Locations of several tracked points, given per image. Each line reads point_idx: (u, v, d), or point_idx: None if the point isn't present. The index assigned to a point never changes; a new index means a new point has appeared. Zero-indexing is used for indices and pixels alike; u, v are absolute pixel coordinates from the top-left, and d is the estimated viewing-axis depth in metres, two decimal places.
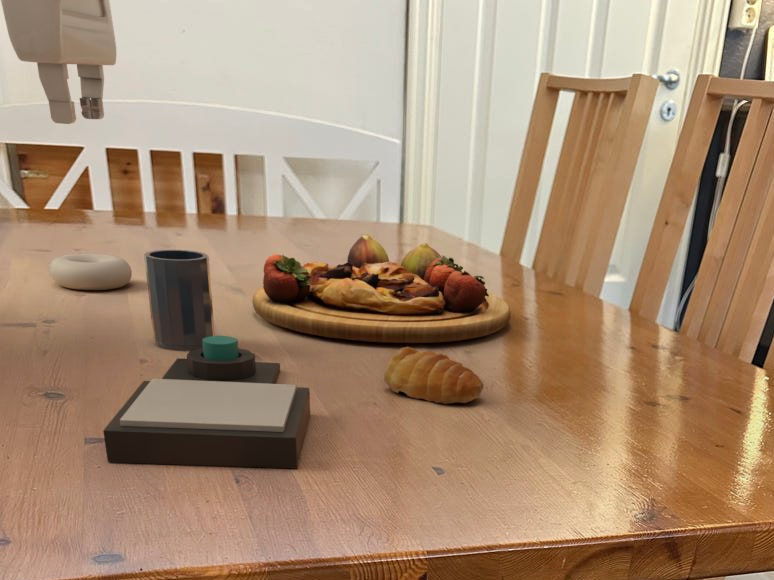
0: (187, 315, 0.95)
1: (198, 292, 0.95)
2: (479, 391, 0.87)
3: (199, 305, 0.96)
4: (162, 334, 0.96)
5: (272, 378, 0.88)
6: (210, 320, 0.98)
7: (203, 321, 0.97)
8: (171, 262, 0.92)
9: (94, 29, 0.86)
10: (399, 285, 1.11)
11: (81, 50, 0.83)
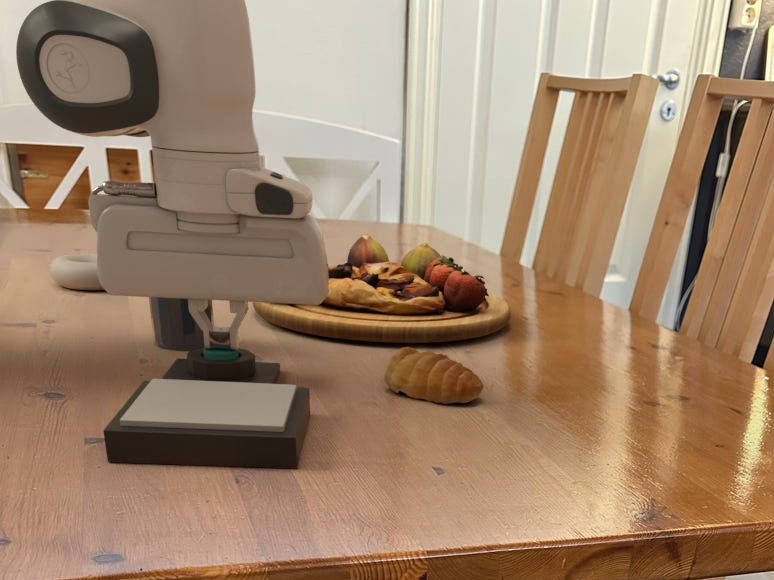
0: (187, 315, 0.95)
1: None
2: (479, 391, 0.87)
3: None
4: (162, 334, 0.96)
5: (272, 378, 0.88)
6: (210, 320, 0.98)
7: None
8: None
9: None
10: (399, 285, 1.11)
11: None
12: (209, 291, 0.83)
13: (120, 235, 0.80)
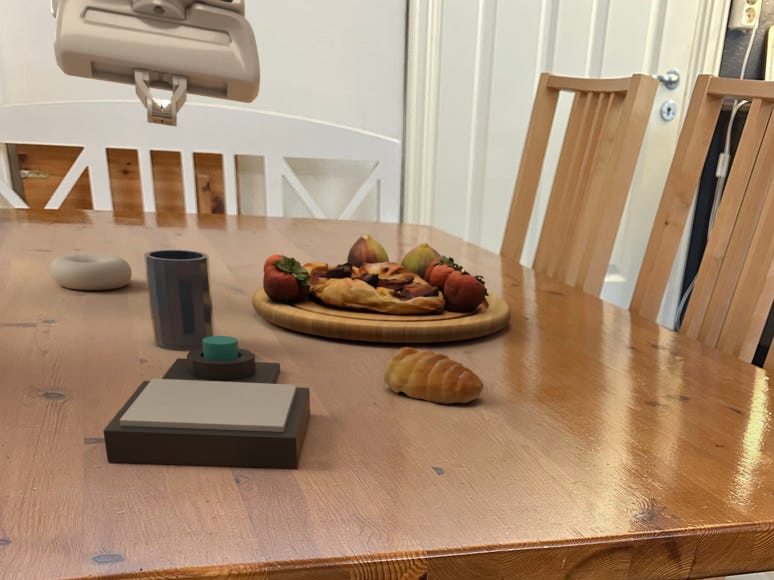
0: (187, 315, 0.95)
1: (198, 292, 0.95)
2: (479, 391, 0.87)
3: (199, 305, 0.96)
4: (162, 334, 0.96)
5: (272, 378, 0.88)
6: (210, 320, 0.98)
7: (203, 321, 0.97)
8: (171, 262, 0.92)
9: None
10: (399, 285, 1.11)
11: None
12: (156, 59, 0.95)
13: (79, 7, 0.93)
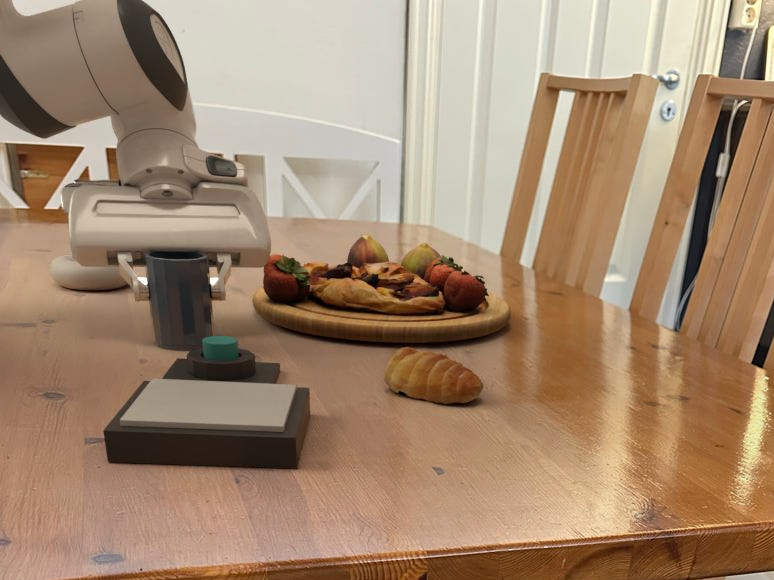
0: (187, 315, 0.95)
1: (198, 292, 0.95)
2: (479, 391, 0.87)
3: (199, 305, 0.96)
4: (162, 334, 0.96)
5: (272, 378, 0.88)
6: (210, 320, 0.98)
7: (203, 320, 0.97)
8: (171, 262, 0.92)
9: None
10: (399, 285, 1.11)
11: None
12: (169, 240, 0.96)
13: (90, 202, 0.94)
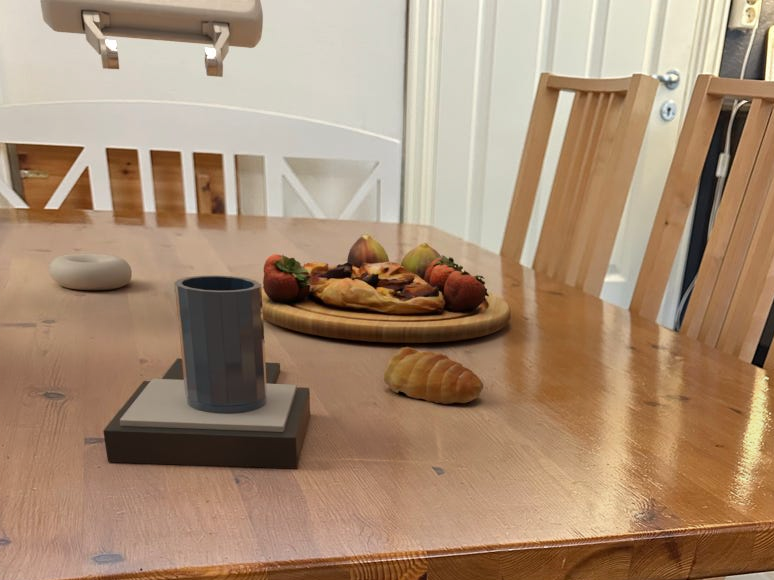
0: (233, 365, 0.70)
1: (248, 334, 0.70)
2: (479, 391, 0.87)
3: (249, 351, 0.70)
4: (198, 390, 0.71)
5: (272, 378, 0.88)
6: (262, 370, 0.72)
7: (254, 372, 0.71)
8: (212, 294, 0.67)
9: None
10: (399, 285, 1.11)
11: None
12: (151, 2, 0.87)
13: None
